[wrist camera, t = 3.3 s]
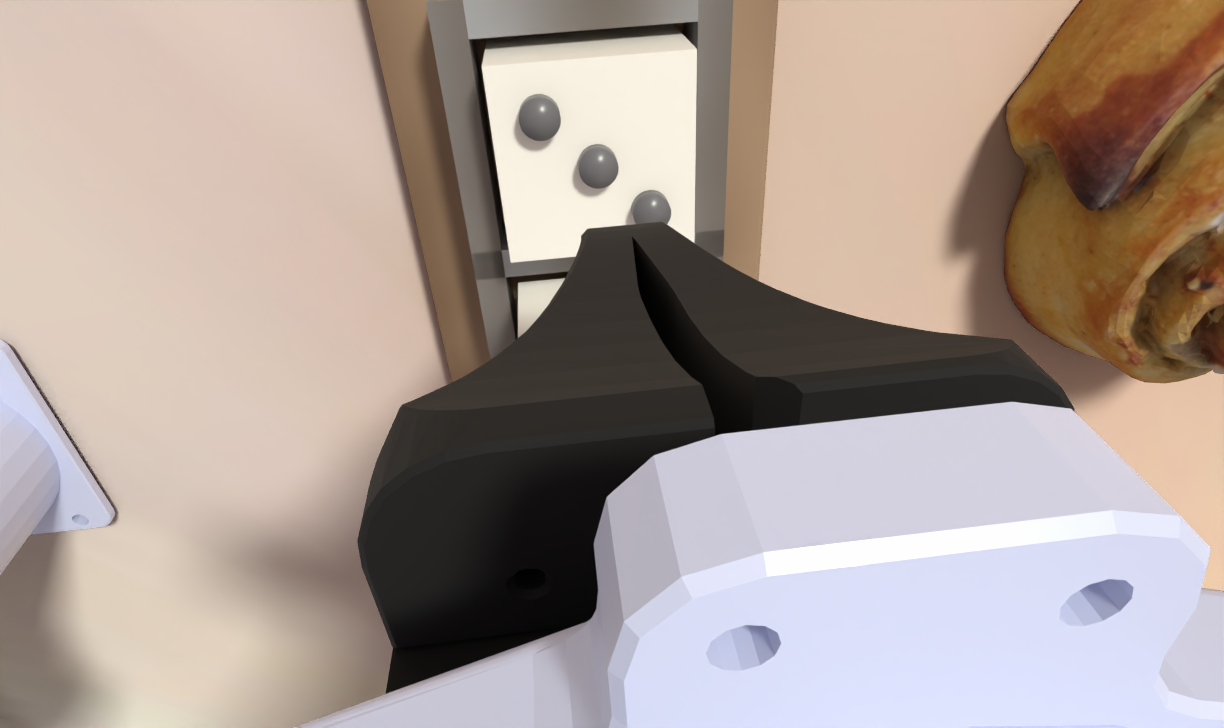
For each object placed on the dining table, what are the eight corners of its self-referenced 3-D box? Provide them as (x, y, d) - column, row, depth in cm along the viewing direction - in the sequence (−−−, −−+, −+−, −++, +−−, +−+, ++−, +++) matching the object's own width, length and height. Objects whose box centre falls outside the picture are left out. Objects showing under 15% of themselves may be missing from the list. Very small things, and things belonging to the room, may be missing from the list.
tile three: (511, 214, 20) (510, 270, 17) (487, 38, 18) (481, 71, 15) (673, 199, 21) (697, 252, 18) (672, 24, 18) (700, 52, 15)
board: (491, 537, 29) (489, 594, 27) (361, -62, 17) (336, -51, 15) (734, 509, 30) (752, 563, 27) (772, -90, 18) (810, -84, 15)
